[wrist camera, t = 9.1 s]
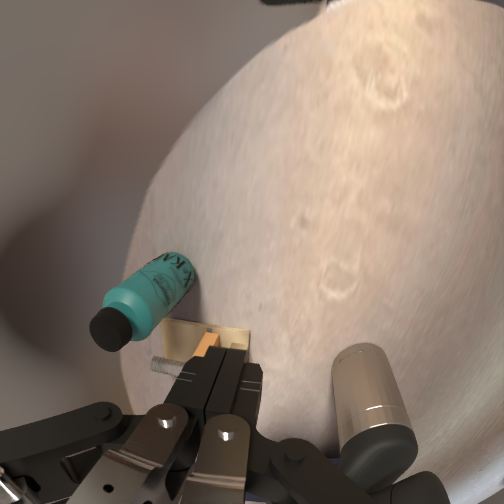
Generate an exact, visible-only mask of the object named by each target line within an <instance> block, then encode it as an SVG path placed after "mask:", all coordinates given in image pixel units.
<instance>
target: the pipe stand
mask: <svg viewBox="0 0 504 504" xmlns="http://www.w3.org/2000/svg"><path fill="white" fill-rule="evenodd" d="M161 329H162V340H163V350H164V358H162V357H157V356H154V357H153V358H152V360H151V370H152V371H155V372H159V373H163V374H167V375H172V376H177V377H178V376H179V374H180V372H181V370H182V368H183V366H184V365H185V363H186V362H187V361H188V360H190V359H191V358H192V356H193V354H194V353H195V351H196V349H197V347H198V345H199V343H200V342H201V340H202V338H203V336H204V334H205V333H206V332H209V333H216V334H219V347H226V348H235V349H243V350H248V353H249V337H250V330H245V329H238V328H230V327H223V326H216V325H209V324H202V323H196V322H190V321H184V320H178V319H172V318H165V317H164V318H163V319H162V320H161Z"/></svg>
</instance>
